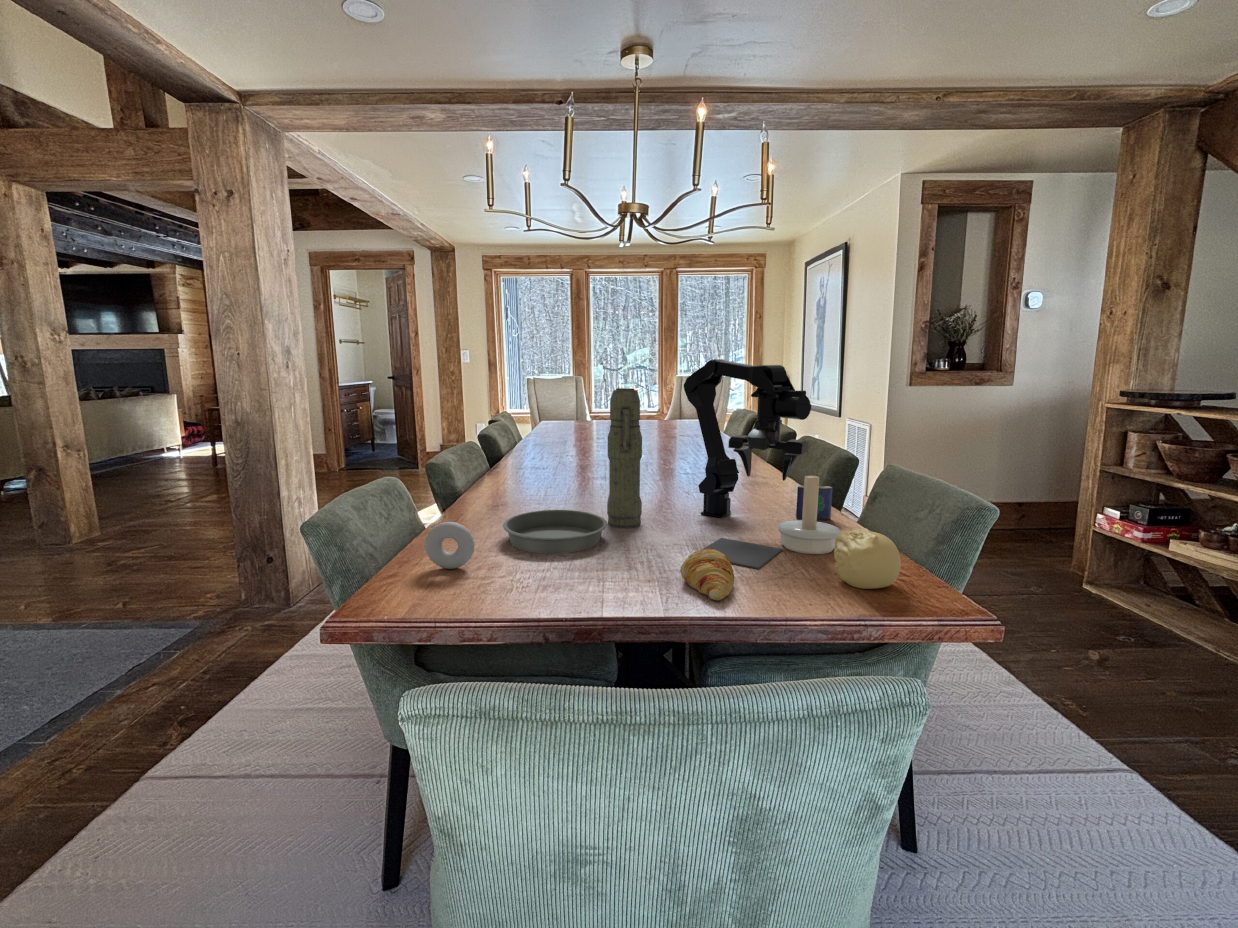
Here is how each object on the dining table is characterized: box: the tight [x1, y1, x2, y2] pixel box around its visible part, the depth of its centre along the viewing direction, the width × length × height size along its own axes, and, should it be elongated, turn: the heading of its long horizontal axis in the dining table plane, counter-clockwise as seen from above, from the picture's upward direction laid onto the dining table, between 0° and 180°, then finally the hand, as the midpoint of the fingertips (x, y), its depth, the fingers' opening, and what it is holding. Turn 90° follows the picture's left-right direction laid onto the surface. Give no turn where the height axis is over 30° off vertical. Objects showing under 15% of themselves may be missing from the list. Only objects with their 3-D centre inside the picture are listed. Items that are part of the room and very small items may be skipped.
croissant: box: [679, 548, 735, 601], centre depth 119 cm, size 21×10×8 cm, turn 5°
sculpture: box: [833, 527, 902, 590], centre depth 119 cm, size 11×12×11 cm
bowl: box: [779, 533, 836, 555], centre depth 142 cm, size 12×12×4 cm
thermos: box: [606, 387, 643, 529], centre depth 159 cm, size 9×12×35 cm
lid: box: [777, 475, 841, 540], centre depth 141 cm, size 14×14×13 cm
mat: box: [702, 537, 784, 570], centre depth 138 cm, size 15×15×1 cm
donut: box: [424, 521, 475, 570], centre depth 127 cm, size 10×4×10 cm, turn 92°
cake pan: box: [502, 509, 608, 554], centre depth 147 cm, size 25×25×4 cm
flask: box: [795, 485, 833, 521], centre depth 166 cm, size 9×3×11 cm, turn 88°
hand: (765, 478), depth 155 cm, fingers open, 9 cm apart
